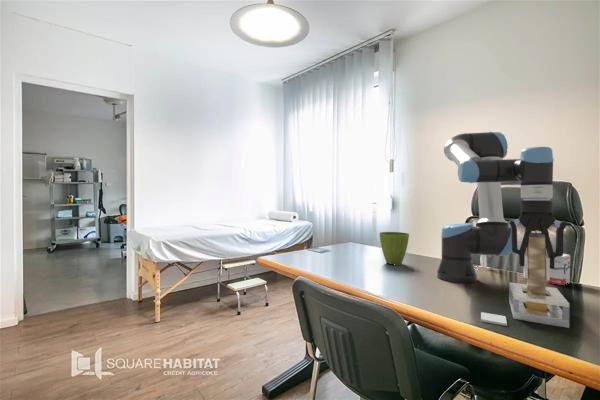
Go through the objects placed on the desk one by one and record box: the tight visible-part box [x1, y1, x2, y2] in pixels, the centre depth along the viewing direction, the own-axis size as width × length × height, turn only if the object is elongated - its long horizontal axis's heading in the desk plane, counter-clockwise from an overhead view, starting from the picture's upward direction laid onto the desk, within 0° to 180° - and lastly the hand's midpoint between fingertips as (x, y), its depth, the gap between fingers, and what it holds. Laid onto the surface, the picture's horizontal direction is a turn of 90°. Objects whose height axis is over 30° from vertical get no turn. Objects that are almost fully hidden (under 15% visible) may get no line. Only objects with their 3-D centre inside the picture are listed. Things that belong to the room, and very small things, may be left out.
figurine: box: [479, 255, 492, 268], centre depth 146 cm, size 9×9×12 cm
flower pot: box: [378, 231, 410, 266], centre depth 157 cm, size 15×15×16 cm
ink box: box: [547, 253, 571, 286], centre depth 121 cm, size 8×5×12 cm, turn 123°
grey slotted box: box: [508, 281, 570, 329], centre depth 89 cm, size 12×16×6 cm
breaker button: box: [525, 301, 547, 311], centre depth 89 cm, size 5×5×2 cm
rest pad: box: [480, 311, 508, 327], centre depth 85 cm, size 6×6×1 cm
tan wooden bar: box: [526, 232, 547, 296], centre depth 89 cm, size 4×4×20 cm
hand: (536, 278), depth 89 cm, fingers closed on tan wooden bar, 4 cm apart
